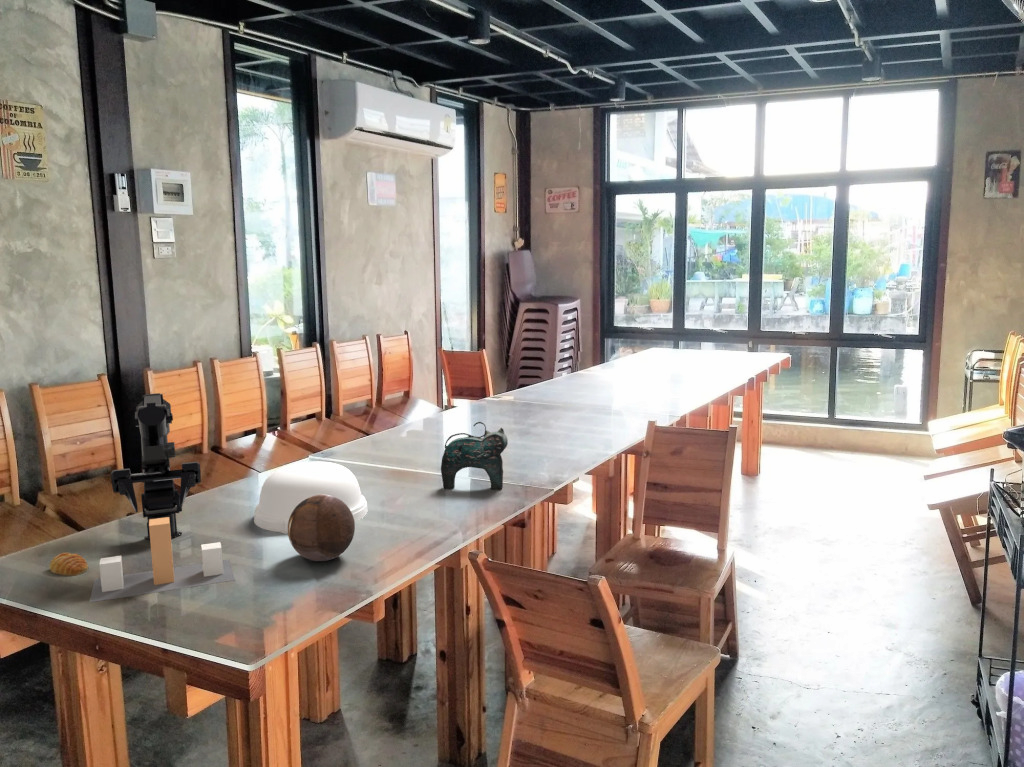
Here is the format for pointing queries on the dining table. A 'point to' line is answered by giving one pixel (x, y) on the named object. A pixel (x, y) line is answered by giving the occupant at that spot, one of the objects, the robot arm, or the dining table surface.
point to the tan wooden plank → (161, 550)
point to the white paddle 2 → (212, 559)
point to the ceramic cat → (475, 456)
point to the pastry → (68, 564)
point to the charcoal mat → (145, 584)
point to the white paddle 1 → (111, 573)
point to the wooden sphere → (321, 527)
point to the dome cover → (305, 492)
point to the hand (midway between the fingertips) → (159, 508)
